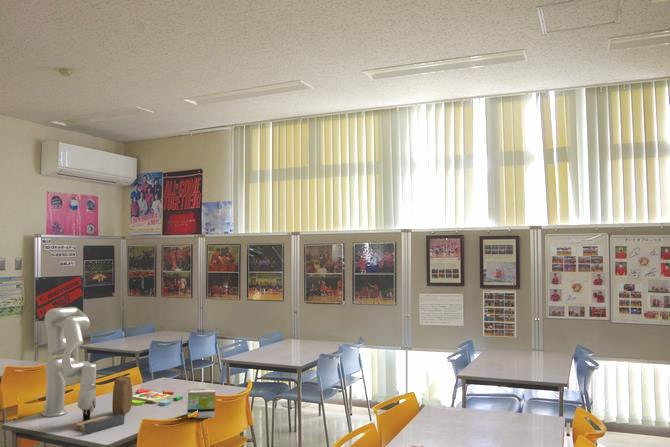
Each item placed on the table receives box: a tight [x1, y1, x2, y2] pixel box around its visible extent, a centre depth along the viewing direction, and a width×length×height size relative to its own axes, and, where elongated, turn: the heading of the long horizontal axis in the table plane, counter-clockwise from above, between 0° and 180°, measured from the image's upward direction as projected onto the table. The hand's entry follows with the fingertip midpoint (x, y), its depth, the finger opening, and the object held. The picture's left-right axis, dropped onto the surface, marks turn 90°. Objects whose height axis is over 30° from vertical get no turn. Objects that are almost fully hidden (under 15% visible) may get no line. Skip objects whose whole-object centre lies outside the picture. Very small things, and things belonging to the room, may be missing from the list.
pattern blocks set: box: [132, 388, 184, 407], centre depth 345 cm, size 38×34×3 cm
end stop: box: [83, 413, 126, 435], centre depth 284 cm, size 2×22×5 cm, turn 148°
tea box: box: [186, 387, 216, 419], centre depth 310 cm, size 15×10×15 cm
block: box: [112, 376, 133, 415], centre depth 314 cm, size 11×8×20 cm
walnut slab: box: [72, 415, 109, 433], centre depth 288 cm, size 12×18×3 cm, turn 148°
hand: (86, 421), depth 292 cm, fingers closed
